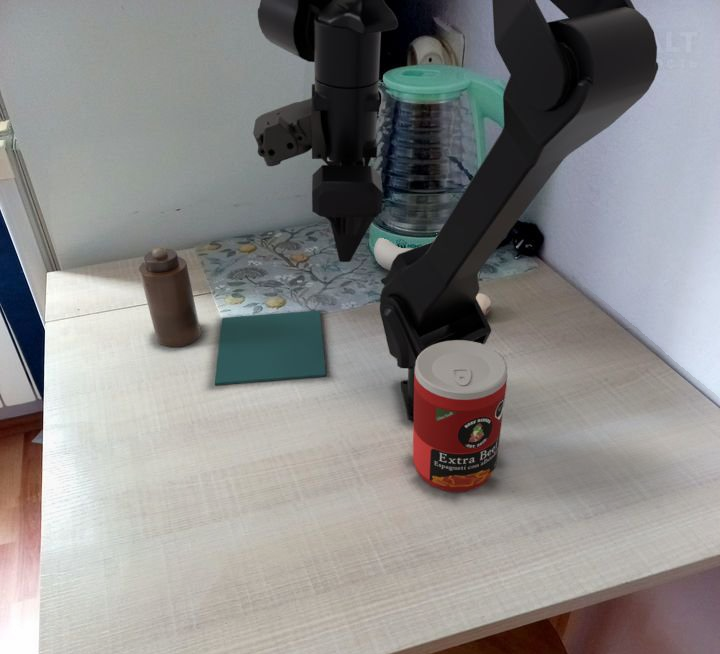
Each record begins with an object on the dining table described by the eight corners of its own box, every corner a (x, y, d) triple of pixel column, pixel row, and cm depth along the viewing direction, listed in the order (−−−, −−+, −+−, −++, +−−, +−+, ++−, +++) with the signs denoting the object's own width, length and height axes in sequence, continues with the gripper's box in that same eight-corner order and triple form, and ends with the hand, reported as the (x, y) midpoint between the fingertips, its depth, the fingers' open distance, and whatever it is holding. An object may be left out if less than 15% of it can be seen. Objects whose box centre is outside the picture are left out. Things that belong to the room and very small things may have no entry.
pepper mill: (204, 341, 83) (186, 251, 76) (160, 351, 82) (137, 260, 74) (196, 321, 87) (177, 233, 79) (153, 330, 85) (130, 241, 78)
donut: (430, 243, 102) (364, 252, 100) (431, 219, 99) (363, 229, 97) (458, 272, 94) (387, 283, 92) (460, 248, 92) (387, 259, 90)
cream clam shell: (483, 326, 84) (485, 307, 82) (443, 318, 85) (444, 299, 84) (493, 309, 87) (495, 290, 85) (454, 302, 88) (455, 283, 86)
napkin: (325, 376, 77) (325, 374, 77) (215, 385, 76) (214, 382, 76) (319, 312, 87) (319, 310, 87) (222, 319, 87) (222, 317, 87)
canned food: (430, 502, 61) (434, 400, 54) (400, 446, 67) (401, 348, 60) (510, 483, 63) (525, 382, 56) (475, 430, 69) (484, 332, 62)
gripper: (262, 42, 69) (271, 195, 80) (247, 115, 56) (261, 286, 67) (376, 45, 69) (369, 197, 81) (387, 118, 56) (377, 287, 68)
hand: (343, 237), depth 74 cm, fingers open, 9 cm apart
